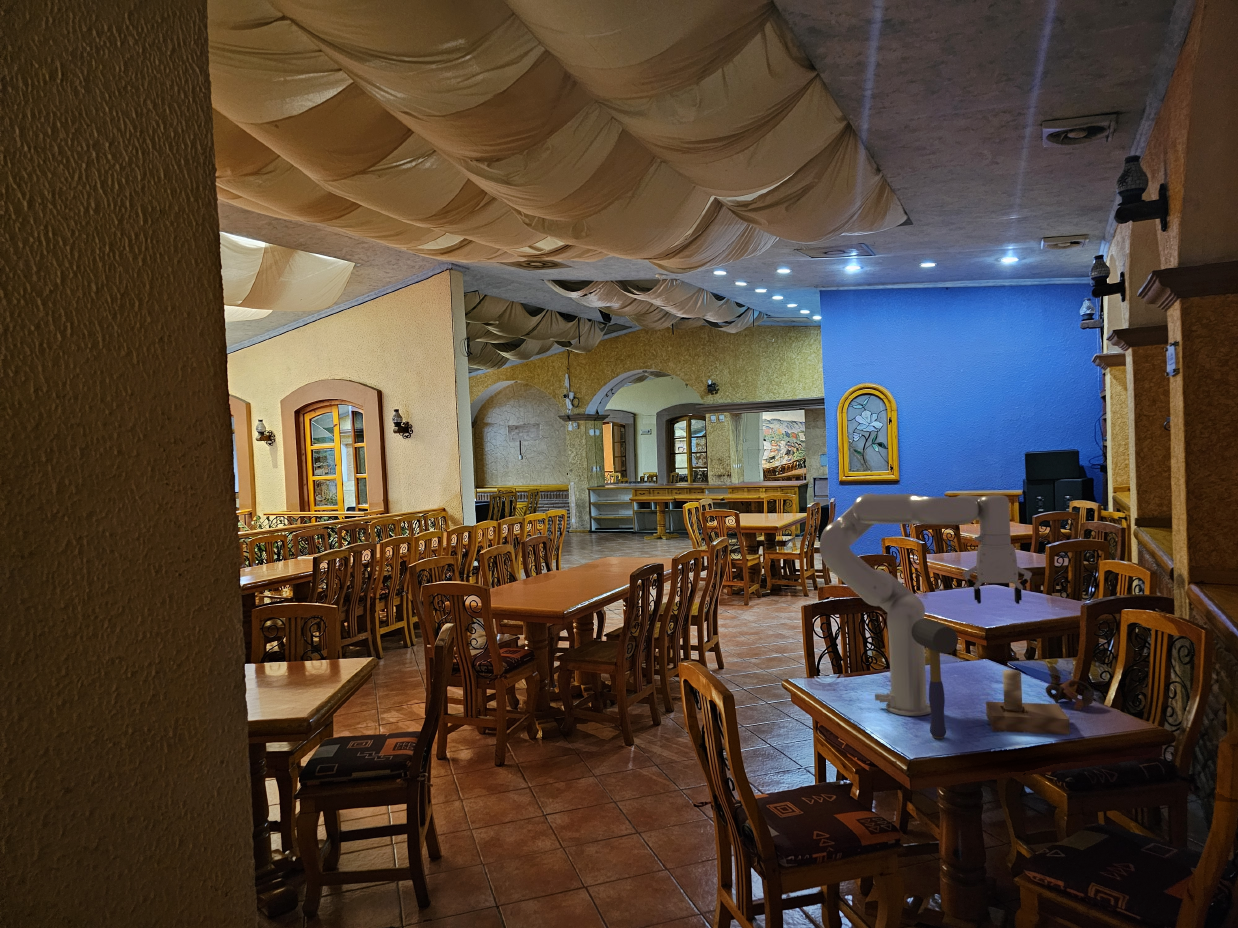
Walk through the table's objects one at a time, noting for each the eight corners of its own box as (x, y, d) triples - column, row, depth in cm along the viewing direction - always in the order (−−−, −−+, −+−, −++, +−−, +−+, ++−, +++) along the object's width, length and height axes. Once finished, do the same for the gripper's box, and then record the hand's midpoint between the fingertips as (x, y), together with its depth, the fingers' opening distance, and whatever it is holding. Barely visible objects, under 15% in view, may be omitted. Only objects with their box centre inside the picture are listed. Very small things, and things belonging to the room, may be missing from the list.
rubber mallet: (912, 731, 220) (908, 617, 220) (939, 728, 221) (935, 615, 221) (936, 746, 208) (932, 626, 208) (965, 744, 209) (960, 624, 209)
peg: (1005, 726, 221) (1003, 673, 221) (1003, 721, 225) (1001, 669, 225) (1025, 727, 220) (1022, 674, 220) (1021, 721, 224) (1019, 669, 224)
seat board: (993, 730, 218) (992, 715, 218) (986, 715, 230) (985, 701, 230) (1069, 734, 213) (1069, 718, 213) (1058, 718, 225) (1058, 703, 225)
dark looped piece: (1081, 701, 241) (1092, 680, 237) (1089, 725, 233) (1101, 703, 229) (1037, 690, 243) (1048, 669, 239) (1044, 714, 235) (1055, 692, 231)
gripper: (962, 542, 227) (965, 605, 227) (1032, 541, 222) (1035, 605, 223) (960, 539, 235) (962, 600, 235) (1027, 538, 230) (1030, 600, 230)
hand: (997, 602), depth 229 cm, fingers open, 9 cm apart
